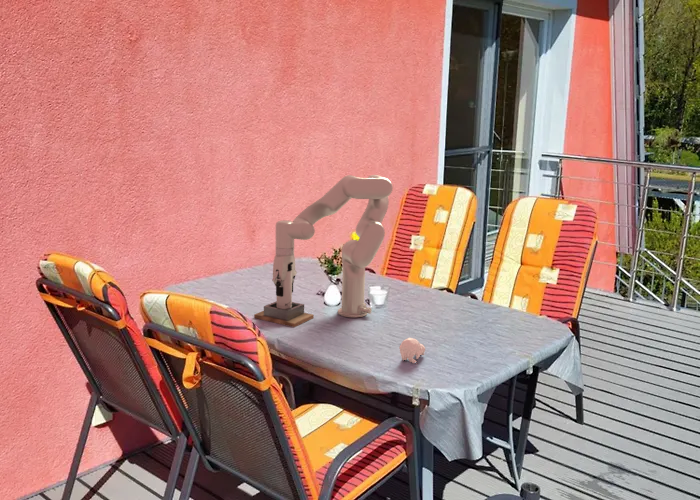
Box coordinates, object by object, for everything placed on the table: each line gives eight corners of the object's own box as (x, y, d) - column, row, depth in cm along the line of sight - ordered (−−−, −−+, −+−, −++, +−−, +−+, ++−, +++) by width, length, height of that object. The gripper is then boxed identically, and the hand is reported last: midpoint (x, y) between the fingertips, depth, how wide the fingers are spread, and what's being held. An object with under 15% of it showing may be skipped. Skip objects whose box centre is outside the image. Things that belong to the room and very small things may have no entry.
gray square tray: (304, 313, 280) (304, 304, 279) (287, 321, 270) (287, 311, 269) (280, 308, 286) (280, 299, 285) (263, 315, 276) (263, 306, 275)
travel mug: (290, 312, 274) (290, 264, 270) (274, 310, 275) (274, 263, 271) (294, 307, 280) (294, 260, 276) (279, 306, 281) (279, 259, 277)
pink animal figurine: (398, 337, 233) (416, 332, 243) (396, 361, 235) (414, 355, 244) (414, 341, 230) (431, 336, 239) (412, 366, 231) (429, 359, 241)
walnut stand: (313, 318, 279) (313, 314, 279) (294, 327, 267) (294, 323, 267) (274, 309, 289) (274, 306, 289) (254, 318, 277) (254, 314, 277)
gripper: (289, 246, 281) (289, 287, 285) (264, 253, 267) (264, 297, 271) (304, 248, 278) (304, 290, 282) (279, 256, 263) (279, 300, 267)
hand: (284, 293), depth 276 cm, fingers closed on travel mug, 6 cm apart
